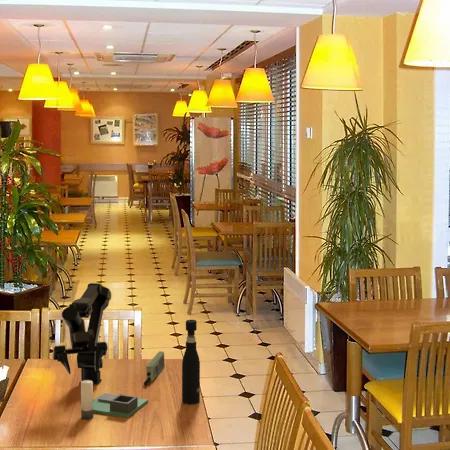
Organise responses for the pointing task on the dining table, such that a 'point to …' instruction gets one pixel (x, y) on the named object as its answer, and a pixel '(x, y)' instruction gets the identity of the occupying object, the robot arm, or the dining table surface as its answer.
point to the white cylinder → (87, 399)
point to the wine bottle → (191, 367)
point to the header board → (117, 404)
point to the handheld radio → (154, 367)
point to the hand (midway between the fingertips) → (83, 372)
